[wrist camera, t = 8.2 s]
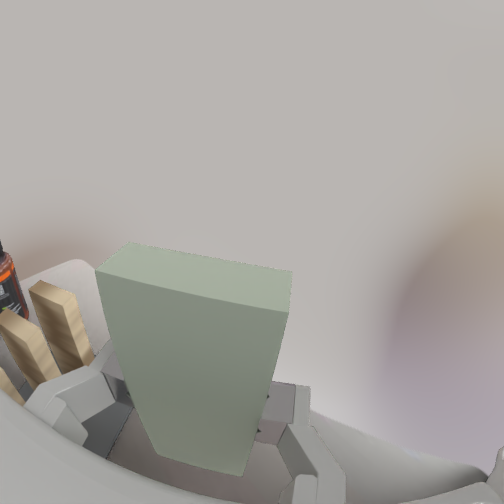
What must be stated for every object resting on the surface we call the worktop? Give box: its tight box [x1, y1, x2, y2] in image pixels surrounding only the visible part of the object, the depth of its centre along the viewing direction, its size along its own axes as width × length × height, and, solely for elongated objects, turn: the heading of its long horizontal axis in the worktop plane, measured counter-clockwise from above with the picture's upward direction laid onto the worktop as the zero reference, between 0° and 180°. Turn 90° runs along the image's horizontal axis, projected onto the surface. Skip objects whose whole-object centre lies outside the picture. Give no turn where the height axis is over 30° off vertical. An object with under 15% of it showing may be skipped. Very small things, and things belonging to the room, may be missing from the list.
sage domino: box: [95, 242, 292, 477], centre depth 9 cm, size 4×2×11 cm, turn 81°
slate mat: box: [18, 351, 133, 459], centre depth 14 cm, size 12×26×1 cm, turn 170°
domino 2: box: [0, 308, 62, 391], centre depth 16 cm, size 4×2×11 cm, turn 80°
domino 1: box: [0, 367, 26, 407], centre depth 12 cm, size 4×2×11 cm, turn 80°
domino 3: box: [29, 280, 95, 375], centre depth 19 cm, size 4×2×11 cm, turn 80°
